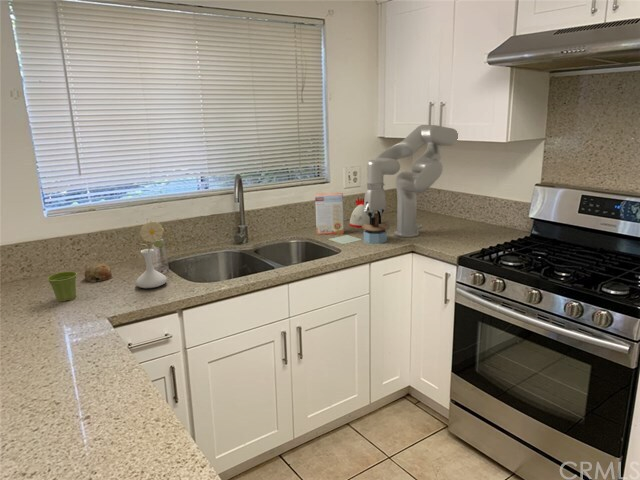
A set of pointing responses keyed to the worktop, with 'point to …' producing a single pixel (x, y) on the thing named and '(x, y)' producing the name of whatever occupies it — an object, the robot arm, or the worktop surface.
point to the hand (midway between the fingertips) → (375, 224)
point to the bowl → (375, 236)
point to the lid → (377, 226)
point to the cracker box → (329, 213)
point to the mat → (345, 239)
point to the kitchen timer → (359, 215)
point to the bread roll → (98, 272)
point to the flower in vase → (151, 276)
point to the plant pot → (63, 285)
